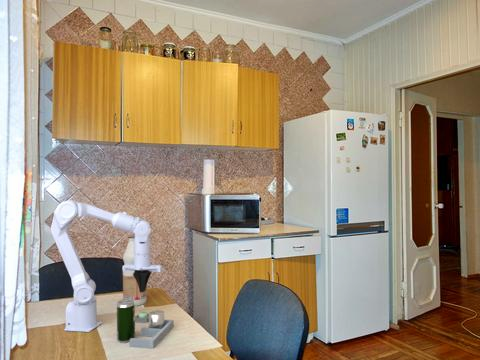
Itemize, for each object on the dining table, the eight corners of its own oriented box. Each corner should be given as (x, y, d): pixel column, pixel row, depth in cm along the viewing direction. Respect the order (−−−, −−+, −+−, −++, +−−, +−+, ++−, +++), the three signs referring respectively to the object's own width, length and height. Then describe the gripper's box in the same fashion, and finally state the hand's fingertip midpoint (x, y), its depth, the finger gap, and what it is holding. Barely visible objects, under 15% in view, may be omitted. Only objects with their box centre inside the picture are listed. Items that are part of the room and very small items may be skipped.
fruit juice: (123, 307, 146) (122, 237, 146) (122, 300, 155) (122, 234, 155) (147, 304, 149) (147, 235, 149) (145, 298, 158) (144, 233, 158)
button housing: (133, 322, 130) (133, 317, 130) (139, 317, 135) (139, 313, 135) (146, 323, 129) (146, 318, 129) (152, 318, 134) (152, 313, 134)
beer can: (119, 345, 112) (119, 305, 112) (115, 339, 116) (114, 301, 116) (137, 340, 115) (136, 302, 115) (132, 334, 119) (131, 297, 119)
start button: (137, 319, 131) (137, 314, 131) (141, 316, 134) (141, 311, 134) (145, 320, 130) (145, 315, 130) (148, 317, 133) (148, 312, 133)
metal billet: (146, 333, 120) (146, 315, 120) (152, 327, 125) (152, 310, 125) (160, 334, 119) (160, 316, 119) (166, 328, 124) (166, 310, 124)
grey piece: (129, 346, 110) (129, 339, 110) (152, 325, 127) (152, 318, 127) (153, 348, 109) (153, 340, 109) (173, 326, 126) (173, 320, 126)
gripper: (118, 255, 130) (118, 293, 129) (156, 256, 127) (157, 295, 127) (127, 251, 137) (128, 288, 136) (164, 252, 134) (164, 289, 134)
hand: (142, 291), depth 132 cm, fingers closed
